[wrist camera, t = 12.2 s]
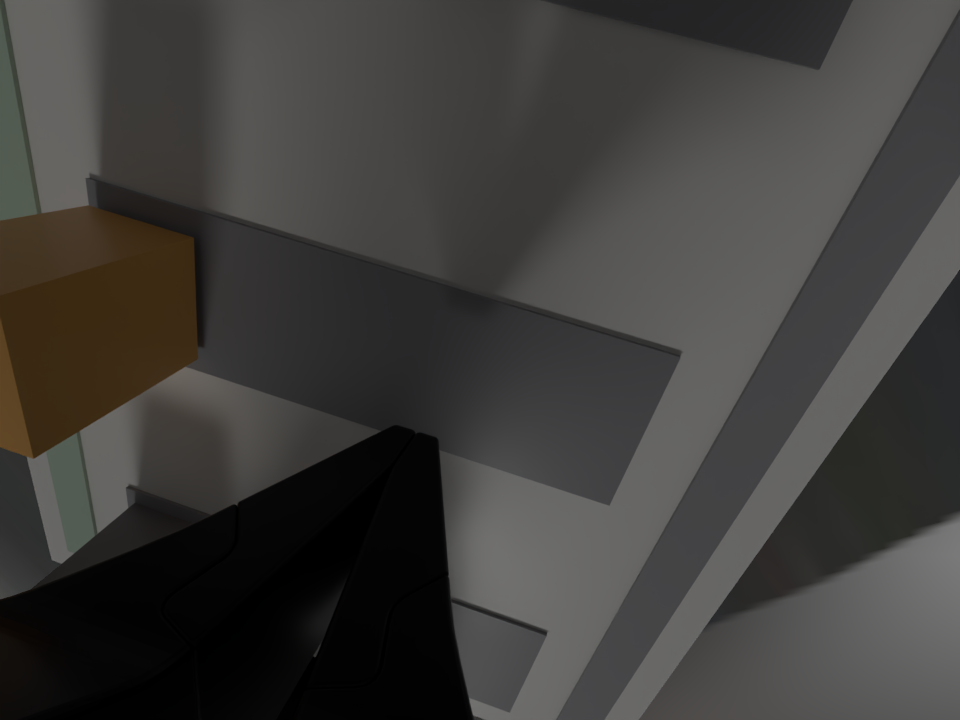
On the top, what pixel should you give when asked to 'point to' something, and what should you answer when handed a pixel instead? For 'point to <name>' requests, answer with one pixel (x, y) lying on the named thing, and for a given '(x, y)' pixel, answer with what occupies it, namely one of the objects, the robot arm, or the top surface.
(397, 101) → the panel
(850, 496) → the top surface
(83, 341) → the orange block
